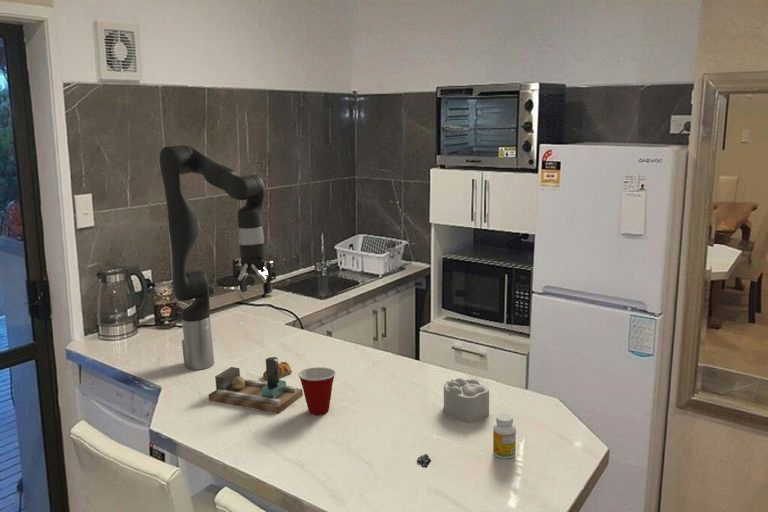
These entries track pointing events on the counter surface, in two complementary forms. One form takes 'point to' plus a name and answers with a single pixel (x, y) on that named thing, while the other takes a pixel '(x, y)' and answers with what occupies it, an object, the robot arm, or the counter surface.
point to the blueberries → (424, 460)
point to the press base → (251, 393)
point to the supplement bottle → (504, 437)
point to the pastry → (281, 370)
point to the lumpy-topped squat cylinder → (466, 400)
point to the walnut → (238, 383)
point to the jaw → (273, 380)
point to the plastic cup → (317, 388)
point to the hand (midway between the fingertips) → (255, 292)
